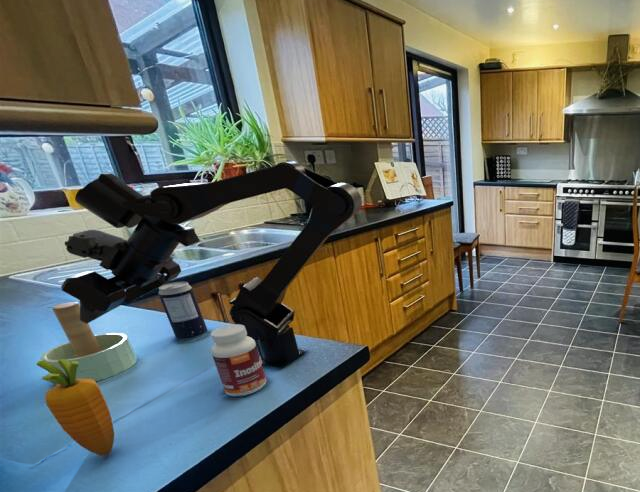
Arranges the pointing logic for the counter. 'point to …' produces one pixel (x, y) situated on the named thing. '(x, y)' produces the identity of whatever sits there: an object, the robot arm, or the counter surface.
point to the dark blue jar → (182, 310)
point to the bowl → (96, 357)
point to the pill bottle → (237, 360)
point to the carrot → (79, 407)
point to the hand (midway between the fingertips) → (105, 311)
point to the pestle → (76, 329)
